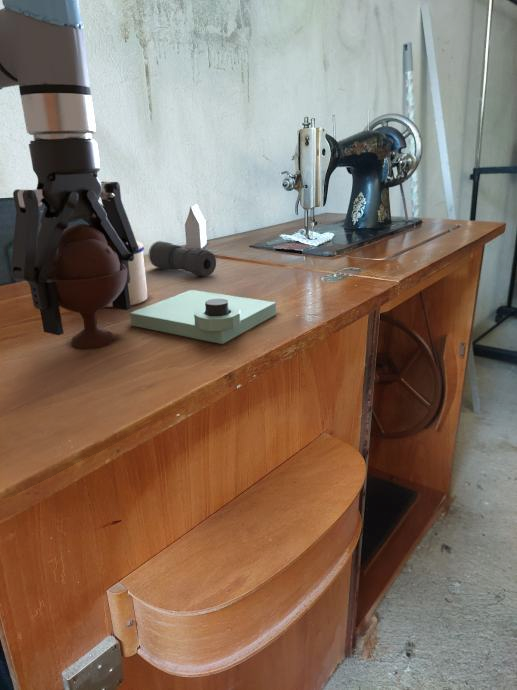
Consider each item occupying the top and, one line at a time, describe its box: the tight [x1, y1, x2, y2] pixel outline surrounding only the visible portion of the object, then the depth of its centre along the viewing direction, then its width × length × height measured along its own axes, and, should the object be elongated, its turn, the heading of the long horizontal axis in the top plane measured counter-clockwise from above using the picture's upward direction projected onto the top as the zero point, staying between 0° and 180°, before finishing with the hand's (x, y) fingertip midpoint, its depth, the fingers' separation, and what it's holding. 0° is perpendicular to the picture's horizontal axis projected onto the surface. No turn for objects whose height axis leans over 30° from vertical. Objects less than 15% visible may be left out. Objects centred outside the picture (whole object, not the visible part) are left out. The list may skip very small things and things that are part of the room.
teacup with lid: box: [105, 240, 148, 308], centre depth 84 cm, size 12×9×12 cm
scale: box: [129, 289, 277, 345], centre depth 74 cm, size 17×15×4 cm
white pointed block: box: [184, 203, 208, 250], centre depth 130 cm, size 4×7×10 cm, turn 174°
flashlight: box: [147, 240, 217, 278], centre depth 104 cm, size 15×5×5 cm, turn 48°
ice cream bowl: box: [48, 223, 127, 349], centre depth 66 cm, size 11×11×15 cm
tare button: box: [205, 299, 229, 316], centre depth 67 cm, size 3×3×2 cm
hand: (90, 319), depth 67 cm, fingers closed on ice cream bowl, 11 cm apart
